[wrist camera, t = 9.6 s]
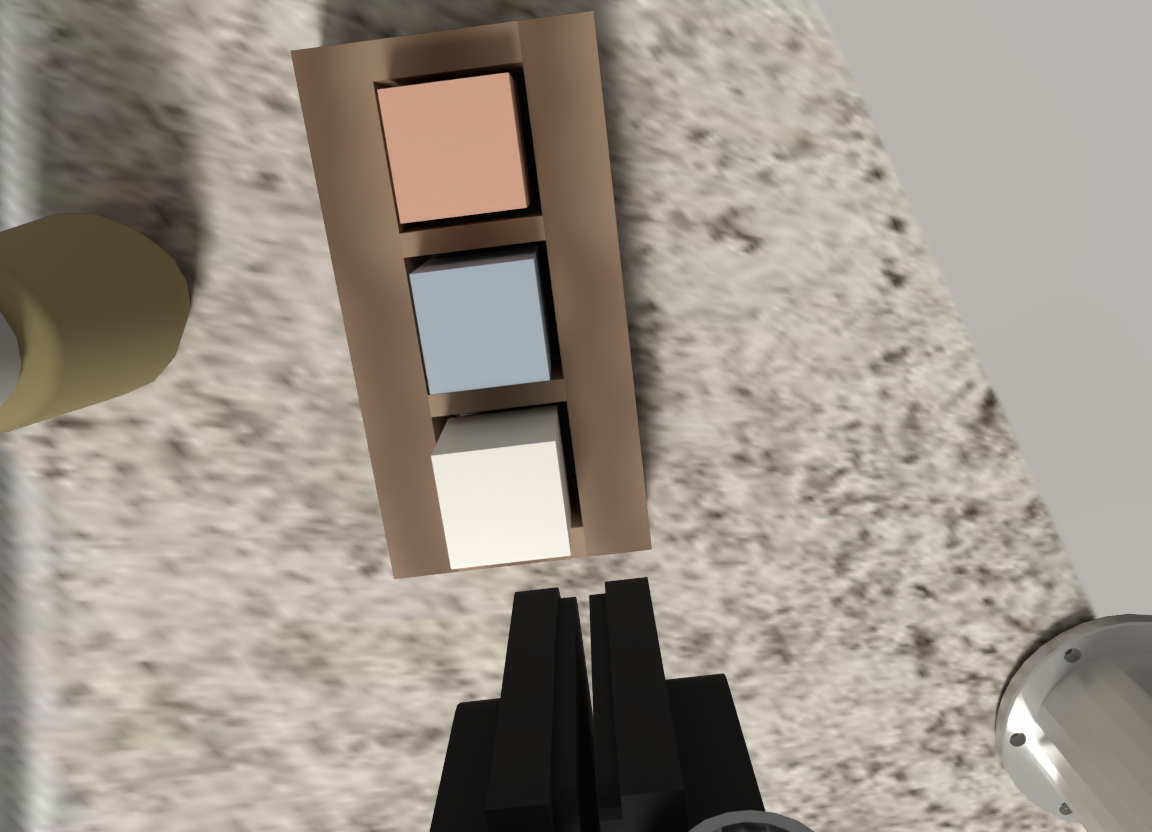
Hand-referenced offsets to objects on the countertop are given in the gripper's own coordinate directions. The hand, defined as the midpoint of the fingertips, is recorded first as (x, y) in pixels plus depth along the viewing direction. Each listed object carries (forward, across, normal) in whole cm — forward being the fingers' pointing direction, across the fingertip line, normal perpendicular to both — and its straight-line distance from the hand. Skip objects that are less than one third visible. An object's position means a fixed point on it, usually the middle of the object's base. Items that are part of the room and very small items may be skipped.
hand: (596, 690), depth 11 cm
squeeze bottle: (+33, +21, -3) cm, 39 cm away
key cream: (+30, +4, +7) cm, 31 cm away
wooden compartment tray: (+33, +4, 0) cm, 33 cm away
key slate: (+32, +4, 0) cm, 32 cm away
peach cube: (+32, +4, -7) cm, 33 cm away
